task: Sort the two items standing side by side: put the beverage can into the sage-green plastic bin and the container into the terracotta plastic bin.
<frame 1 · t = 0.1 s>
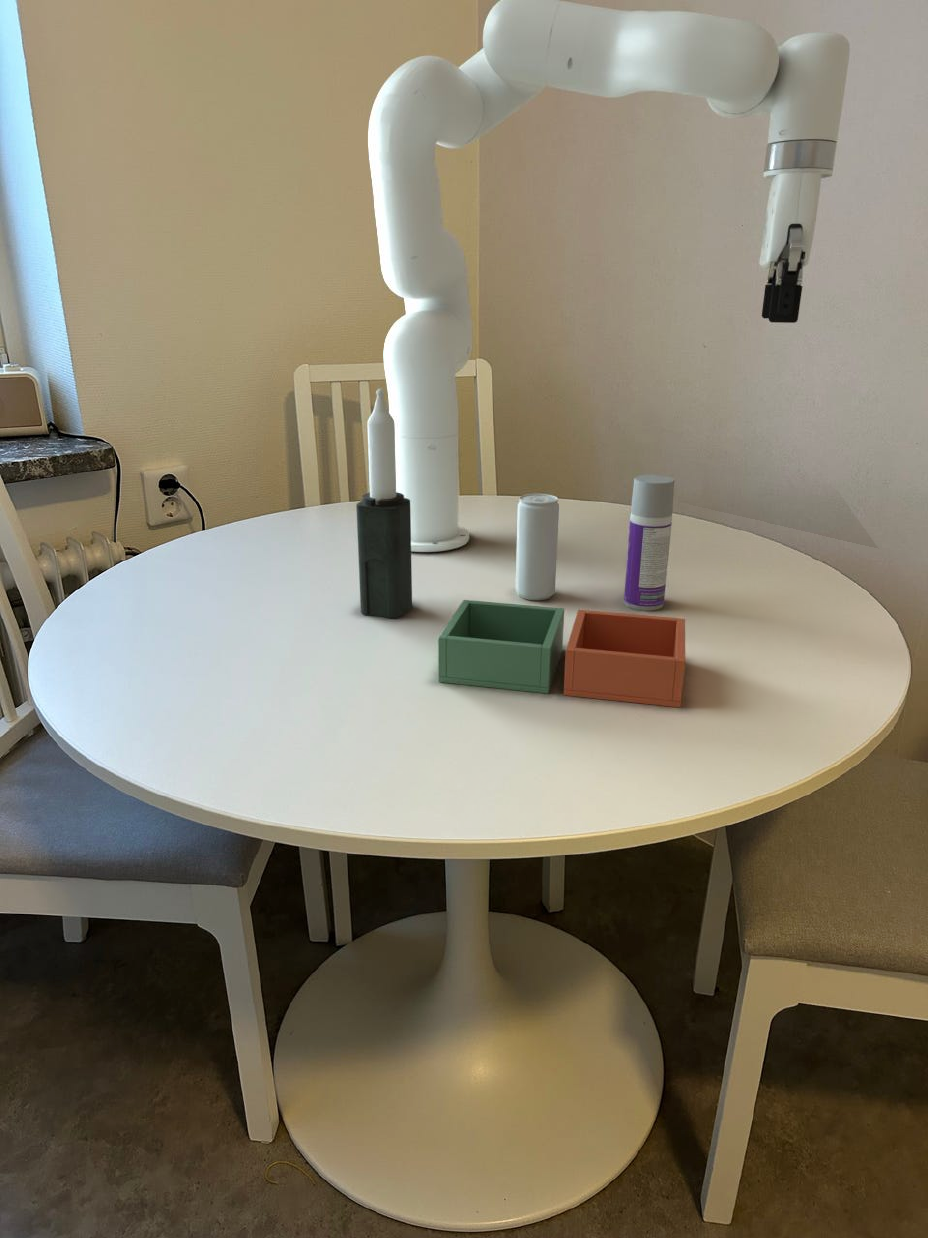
hand: (778, 320, 107), 31 cm above the table, tool pointing down, fingers open, 9 cm apart
container: (643, 605, 104), on the table
beverage can: (534, 596, 106), on the table
terracotta bin: (624, 677, 85), on the table
sage bin: (503, 665, 87), on the table
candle: (386, 610, 102), on the table
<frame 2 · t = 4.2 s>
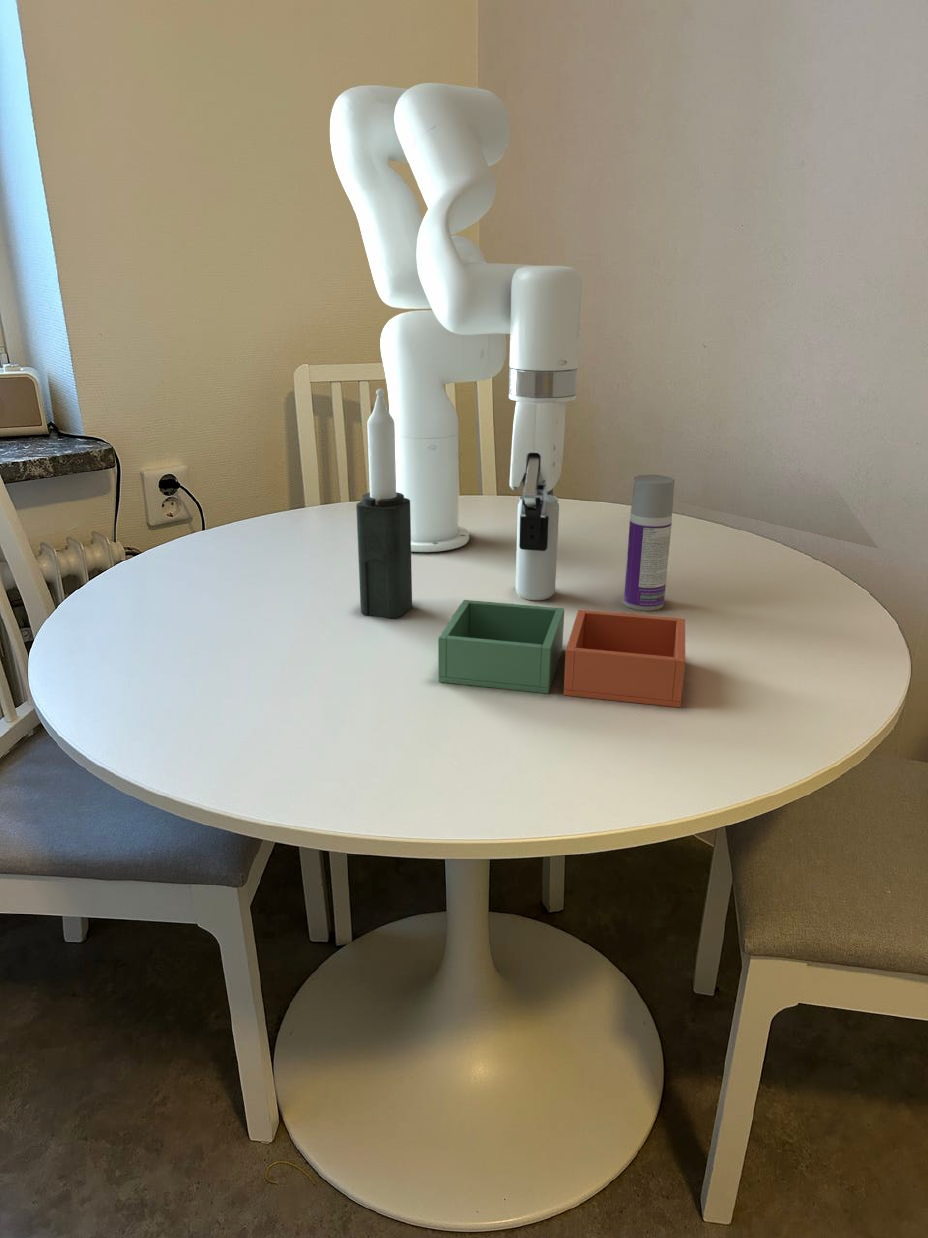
hand: (537, 541, 104), 7 cm above the table, tool pointing down, fingers closed on beverage can, 4 cm apart
beverage can: (534, 596, 106), on the table, touching gripper
everything else where it was.
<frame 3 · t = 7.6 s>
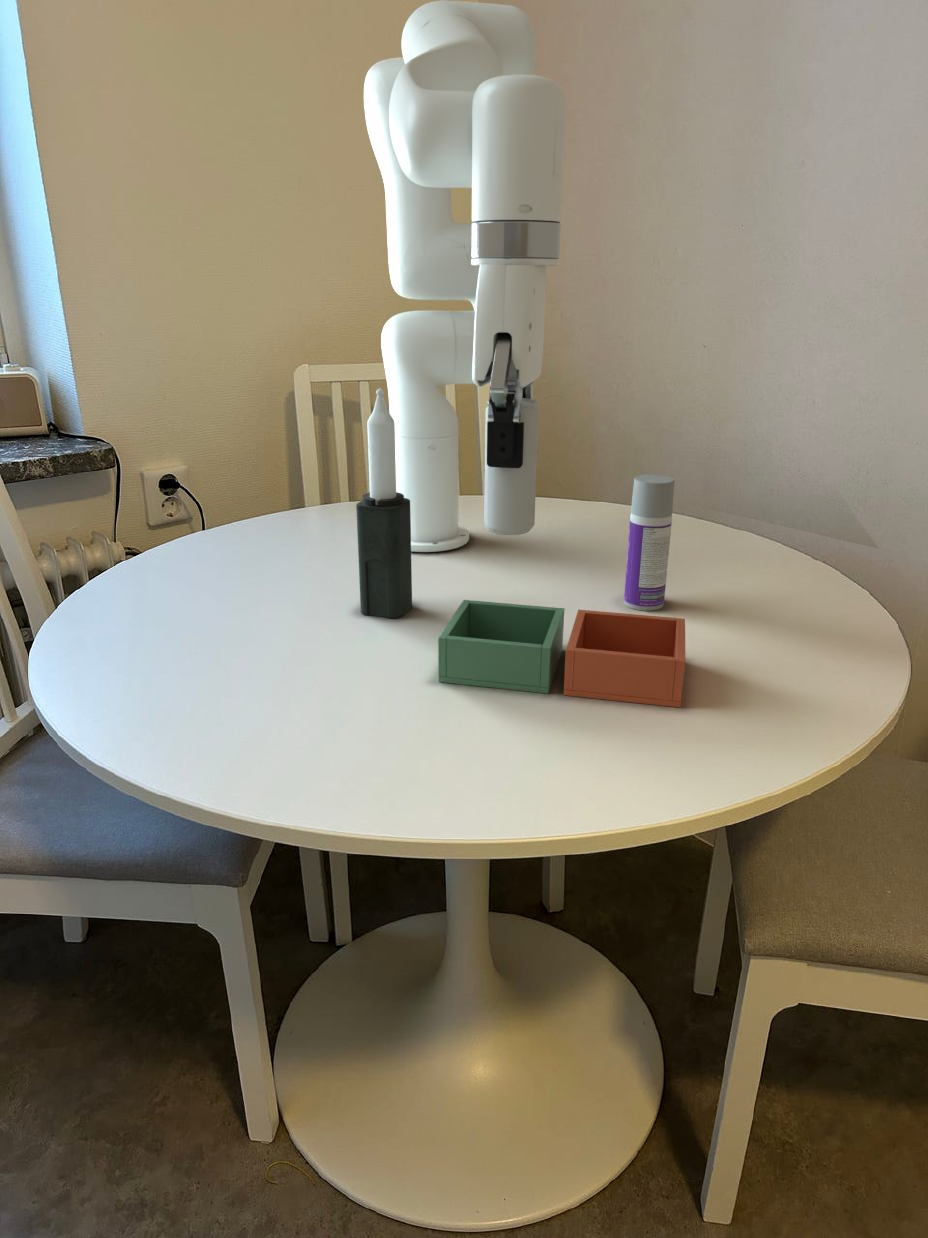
hand: (510, 458, 81), 20 cm above the table, tool pointing down, fingers closed on beverage can, 4 cm apart
beverage can: (509, 531, 83), point 13 cm above the table, touching gripper
everything else where it was.
when the fingers open (7 cm above the table, at t = 11.0 s): beverage can stays where it is, resting on sage bin.
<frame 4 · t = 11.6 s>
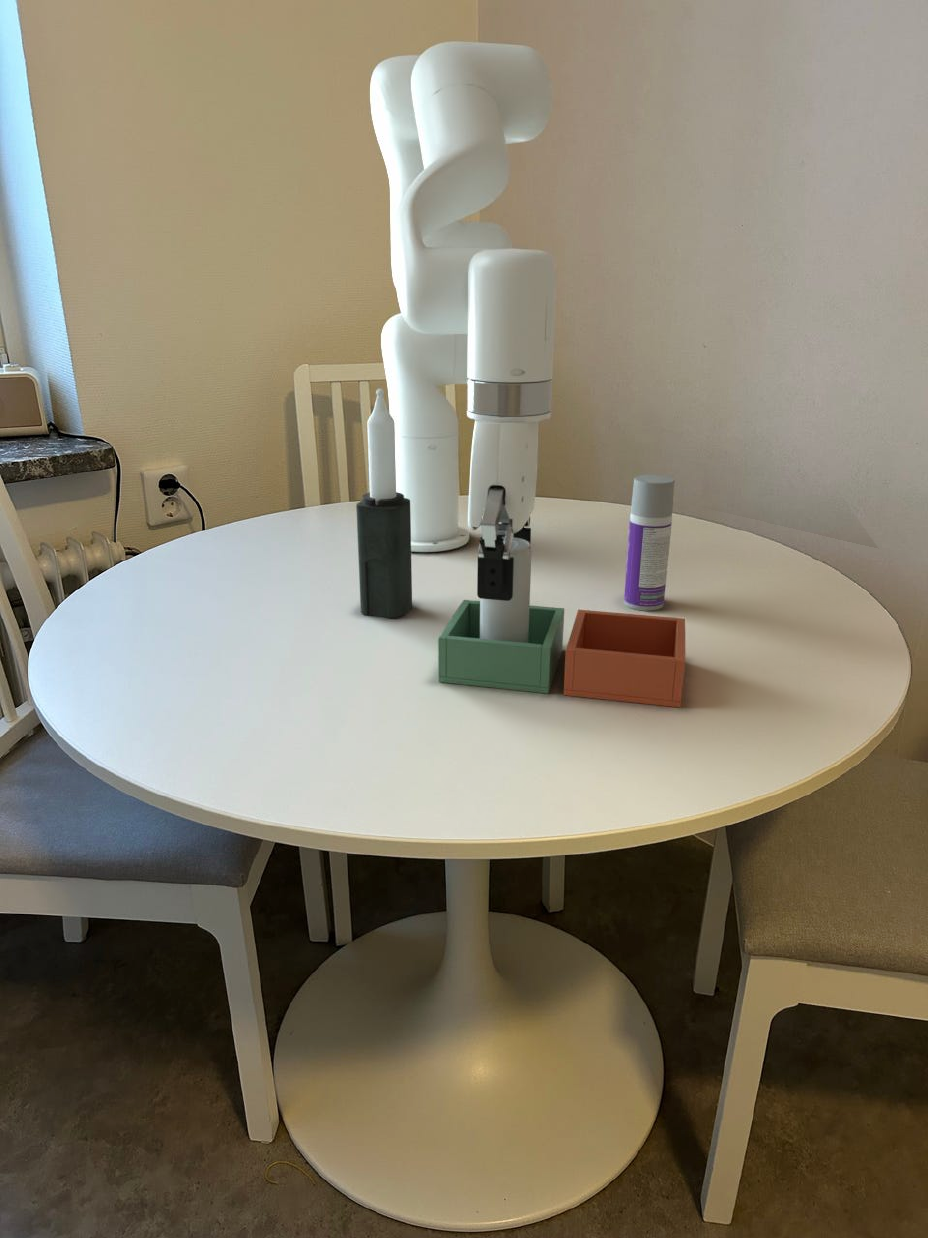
hand: (504, 581, 84), 9 cm above the table, tool pointing down, fingers open, 9 cm apart
beverage can: (503, 661, 87), resting on sage bin
everything else where it was.
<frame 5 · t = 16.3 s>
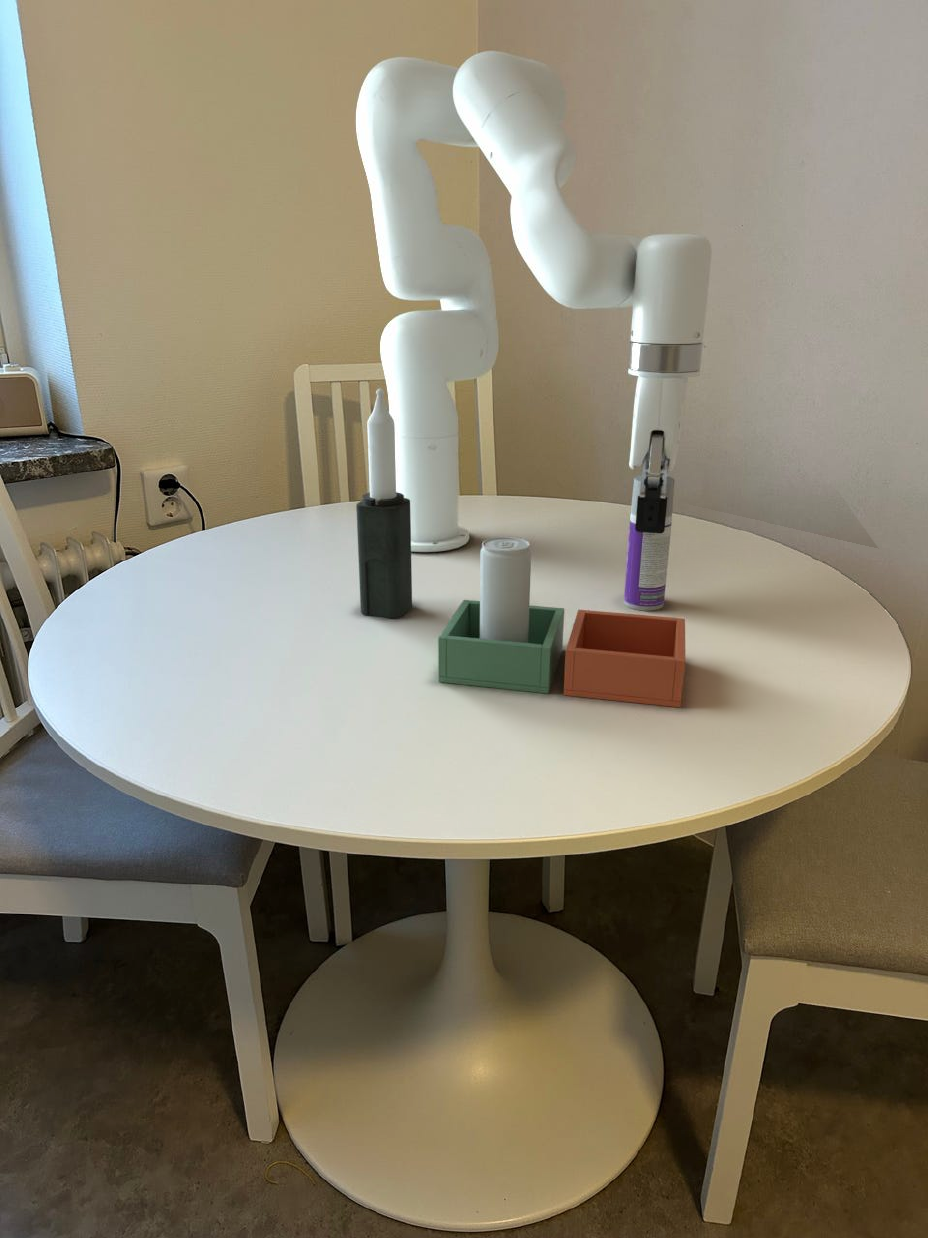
hand: (650, 523, 100), 10 cm above the table, tool pointing down, fingers closed on container, 4 cm apart
container: (643, 605, 104), on the table, touching gripper
everything else where it was.
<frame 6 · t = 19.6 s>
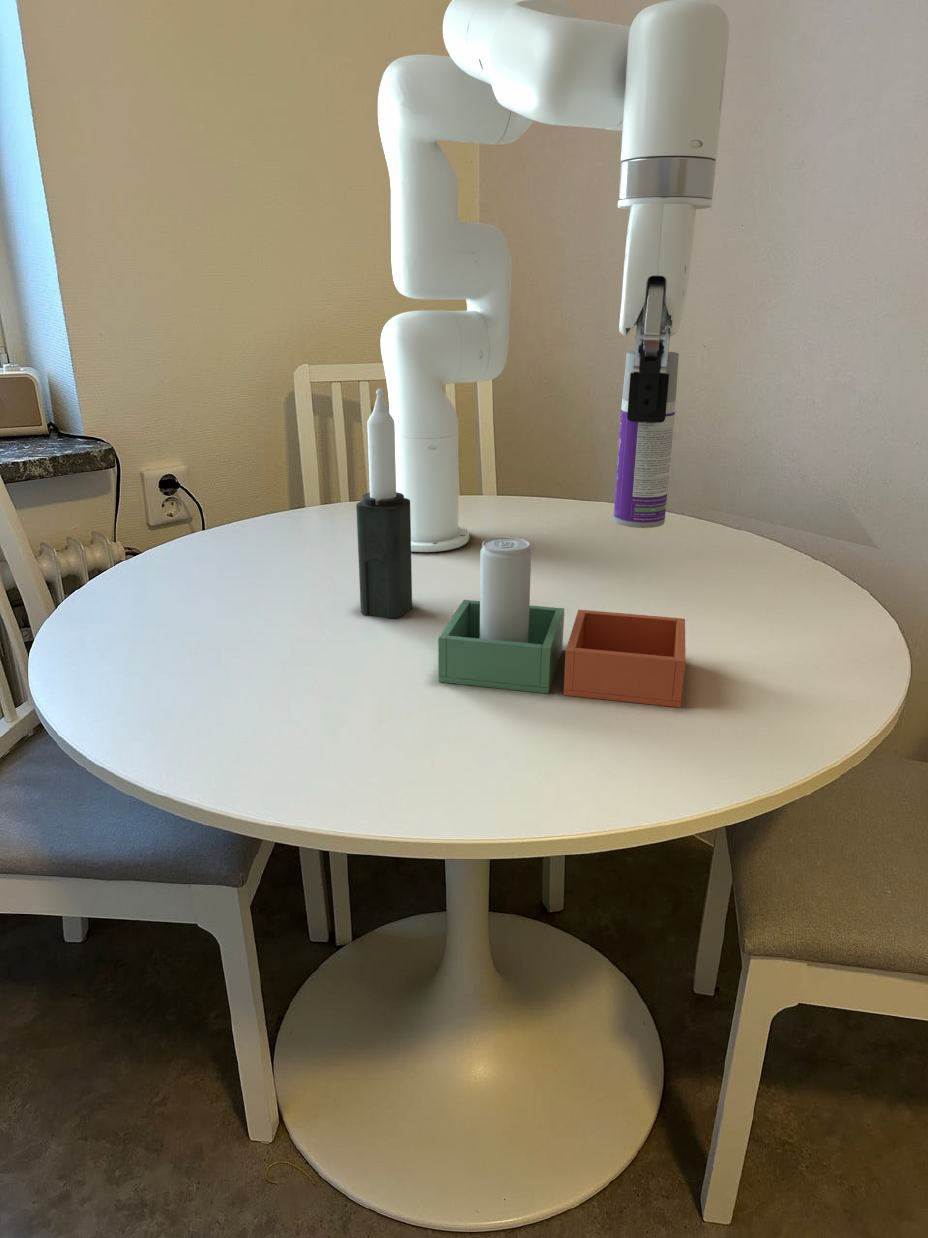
hand: (647, 414, 77), 25 cm above the table, tool pointing down, fingers closed on container, 4 cm apart
container: (638, 523, 81), point 15 cm above the table, touching gripper
everything else where it was.
when the fingers open (10 cm above the table, at t = 23.3 s): container stays where it is, resting on terracotta bin.
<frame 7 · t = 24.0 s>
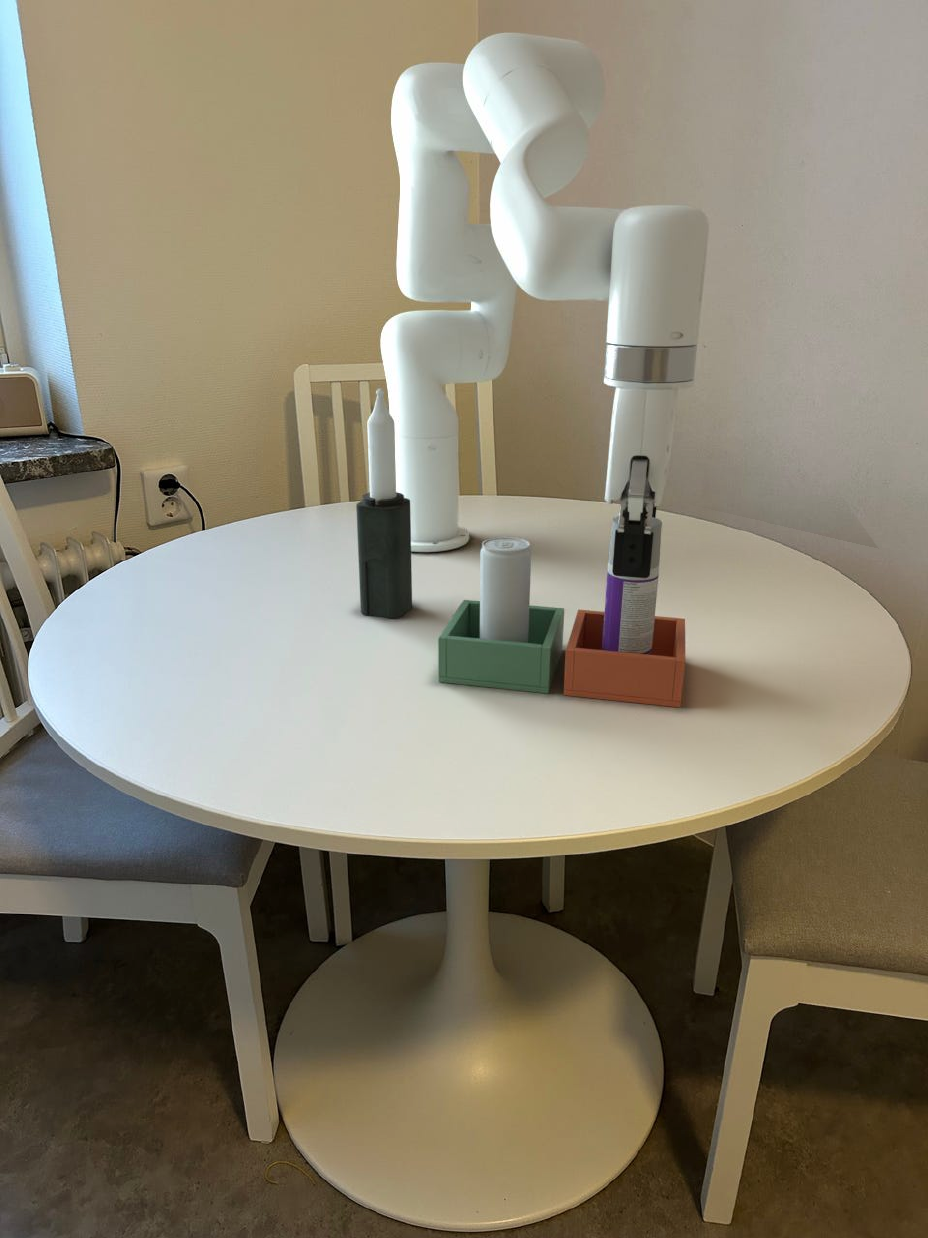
hand: (633, 559, 80), 12 cm above the table, tool pointing down, fingers open, 9 cm apart
container: (624, 673, 85), resting on terracotta bin
everything else where it was.
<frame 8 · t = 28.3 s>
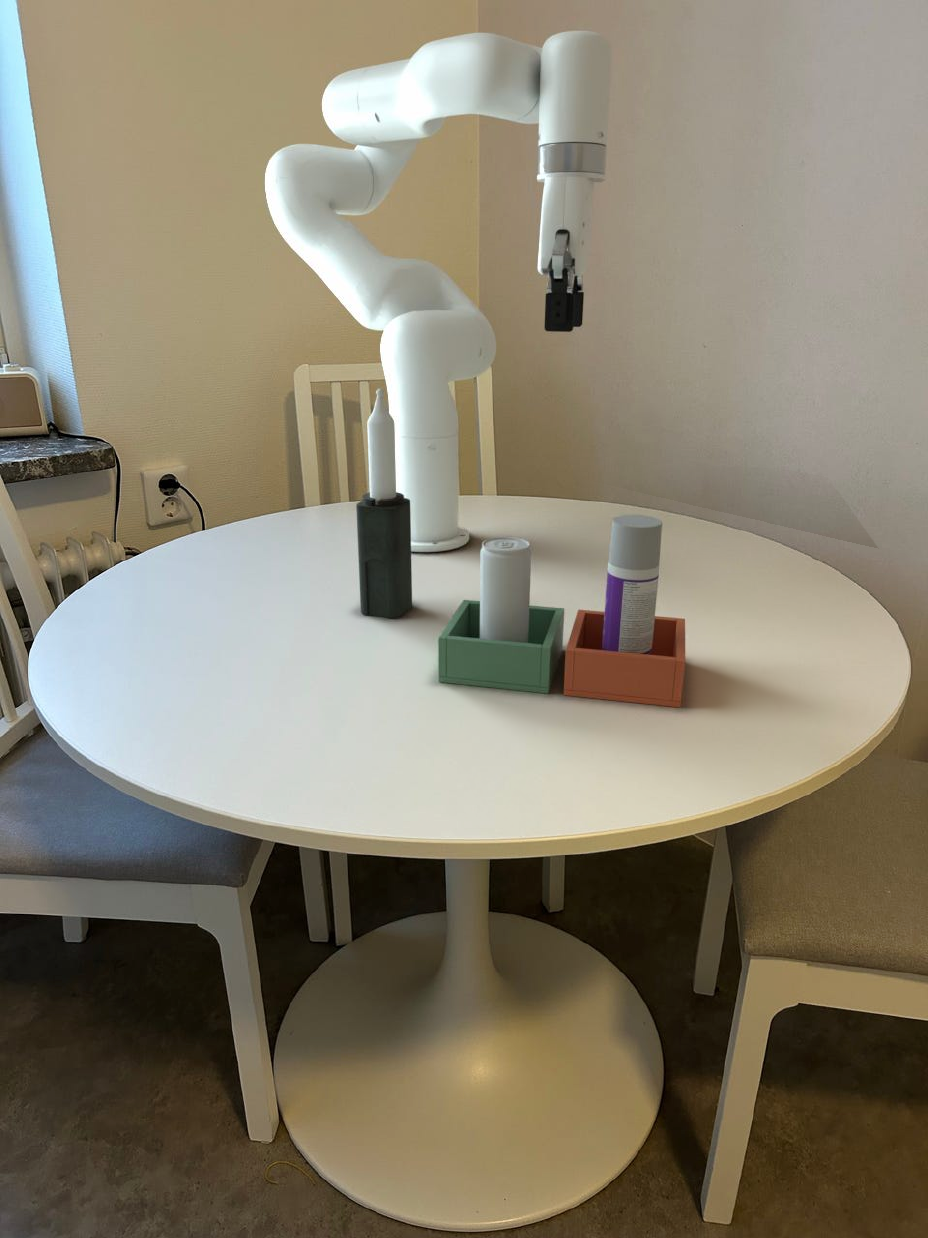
hand: (564, 328, 103), 30 cm above the table, tool pointing down, fingers open, 9 cm apart
nothing on the table moved.
at the end: beverage can inside the target area in the sage bin (0.1 cm from its centre), point 0.4 cm above the sage bin's base; container inside the target area in the terracotta bin (0.1 cm from its centre), point 0.4 cm above the terracotta bin's base; container tilted 0° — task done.
